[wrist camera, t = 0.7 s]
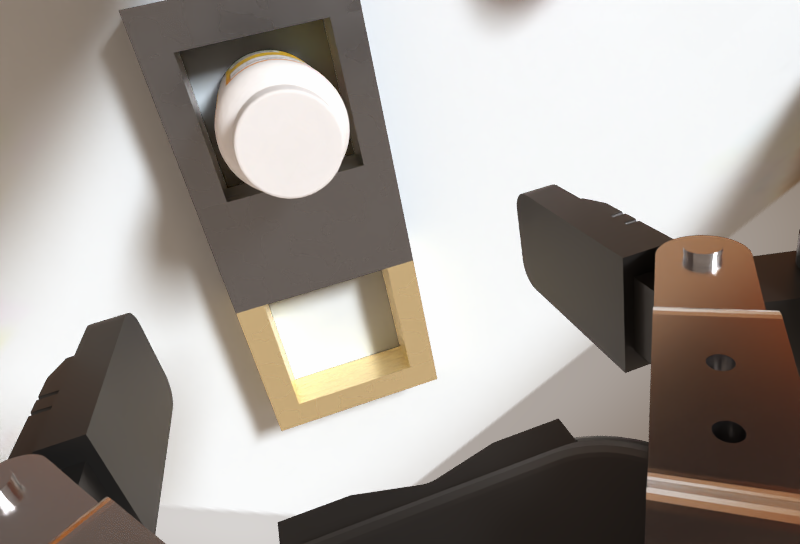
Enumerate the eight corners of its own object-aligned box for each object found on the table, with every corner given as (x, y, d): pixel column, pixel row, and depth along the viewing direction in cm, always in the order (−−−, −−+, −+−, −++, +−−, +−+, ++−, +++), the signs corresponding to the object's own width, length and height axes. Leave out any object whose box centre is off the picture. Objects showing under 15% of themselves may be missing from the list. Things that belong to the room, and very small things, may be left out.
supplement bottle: (296, 175, 31) (322, 240, 22) (199, 127, 29) (186, 179, 20) (344, 83, 30) (390, 116, 21) (246, 26, 27) (253, 36, 19)
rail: (341, -37, 27) (351, -40, 25) (425, 357, 38) (437, 378, 36) (128, 9, 26) (118, 10, 24) (278, 405, 37) (281, 431, 34)
